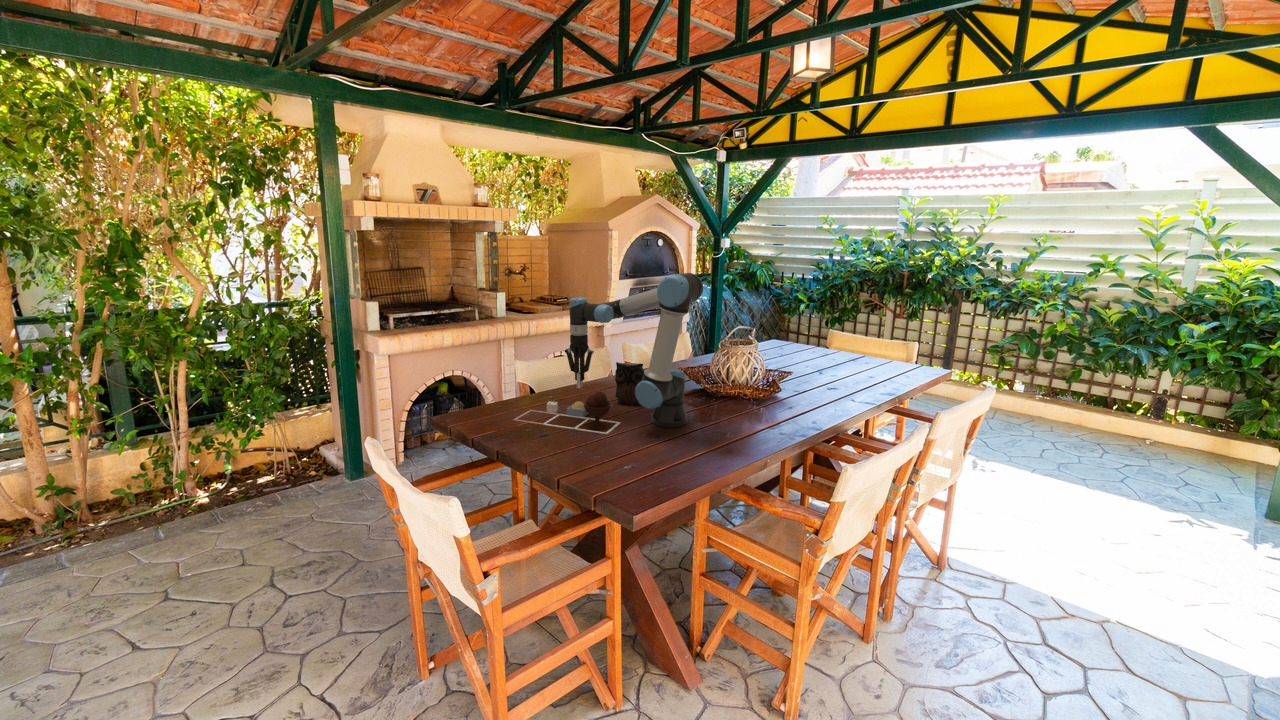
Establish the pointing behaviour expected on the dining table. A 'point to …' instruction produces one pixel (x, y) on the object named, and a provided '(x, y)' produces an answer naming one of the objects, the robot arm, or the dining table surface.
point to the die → (552, 407)
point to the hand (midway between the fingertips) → (579, 387)
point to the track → (567, 427)
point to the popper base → (576, 412)
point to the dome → (578, 405)
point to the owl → (628, 382)
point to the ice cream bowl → (597, 407)
